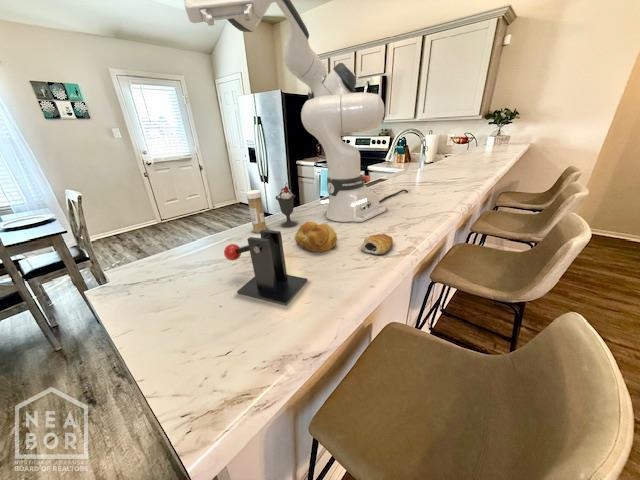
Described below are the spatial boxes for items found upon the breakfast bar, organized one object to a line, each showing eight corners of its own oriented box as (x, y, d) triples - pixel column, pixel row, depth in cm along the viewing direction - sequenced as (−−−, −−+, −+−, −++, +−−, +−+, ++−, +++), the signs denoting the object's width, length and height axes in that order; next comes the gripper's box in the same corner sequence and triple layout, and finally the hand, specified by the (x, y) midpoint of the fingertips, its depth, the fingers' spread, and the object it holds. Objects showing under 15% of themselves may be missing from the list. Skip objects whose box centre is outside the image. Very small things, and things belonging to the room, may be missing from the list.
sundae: (293, 228, 88) (288, 184, 82) (276, 227, 90) (269, 183, 84) (301, 221, 93) (297, 179, 87) (285, 220, 96) (279, 179, 89)
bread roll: (288, 246, 76) (284, 220, 72) (313, 235, 82) (310, 210, 78) (319, 260, 67) (316, 231, 64) (344, 246, 73) (343, 219, 70)
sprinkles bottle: (269, 230, 88) (262, 191, 82) (256, 234, 86) (248, 193, 80) (263, 226, 91) (257, 188, 86) (251, 230, 89) (243, 191, 84)
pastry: (377, 238, 76) (377, 226, 74) (399, 244, 72) (399, 231, 70) (358, 251, 70) (358, 238, 68) (381, 258, 66) (382, 244, 64)
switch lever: (225, 264, 57) (217, 250, 56) (236, 257, 60) (229, 243, 59) (269, 254, 50) (261, 237, 49) (279, 246, 53) (272, 230, 52)
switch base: (238, 295, 55) (224, 240, 50) (263, 274, 63) (253, 224, 57) (286, 308, 50) (277, 248, 45) (308, 283, 58) (302, 229, 52)
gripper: (262, 6, 77) (271, 29, 70) (190, 14, 74) (193, 39, 68) (258, -24, 71) (268, -2, 65) (180, -15, 68) (182, 8, 62)
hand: (229, 19), depth 66 cm, fingers open, 8 cm apart
